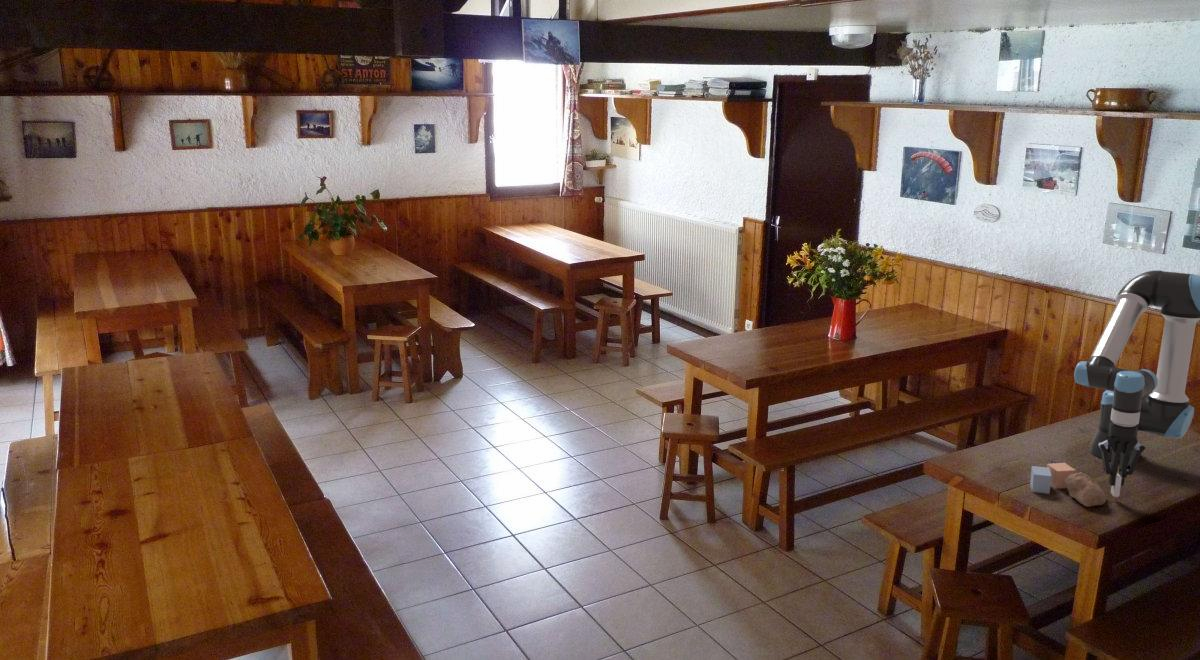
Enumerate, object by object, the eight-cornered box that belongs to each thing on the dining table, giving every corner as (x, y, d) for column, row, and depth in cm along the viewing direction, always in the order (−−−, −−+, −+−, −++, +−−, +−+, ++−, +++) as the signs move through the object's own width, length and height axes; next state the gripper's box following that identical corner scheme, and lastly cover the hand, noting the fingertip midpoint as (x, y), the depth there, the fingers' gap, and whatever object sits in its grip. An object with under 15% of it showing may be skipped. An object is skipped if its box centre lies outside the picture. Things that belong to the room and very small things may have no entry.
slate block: (1047, 485, 297) (1049, 467, 296) (1049, 493, 291) (1051, 476, 290) (1030, 483, 299) (1031, 465, 298) (1032, 492, 293) (1033, 474, 291)
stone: (1065, 497, 293) (1055, 475, 289) (1090, 481, 293) (1081, 459, 289) (1091, 519, 282) (1082, 497, 278) (1118, 503, 282) (1109, 480, 277)
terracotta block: (1062, 479, 301) (1064, 462, 299) (1073, 487, 295) (1075, 470, 294) (1045, 481, 300) (1046, 463, 299) (1055, 488, 295) (1057, 471, 293)
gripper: (1142, 418, 281) (1132, 490, 287) (1096, 417, 283) (1087, 488, 289) (1152, 427, 274) (1142, 501, 280) (1105, 426, 276) (1096, 499, 282)
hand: (1114, 494), depth 285 cm, fingers closed
